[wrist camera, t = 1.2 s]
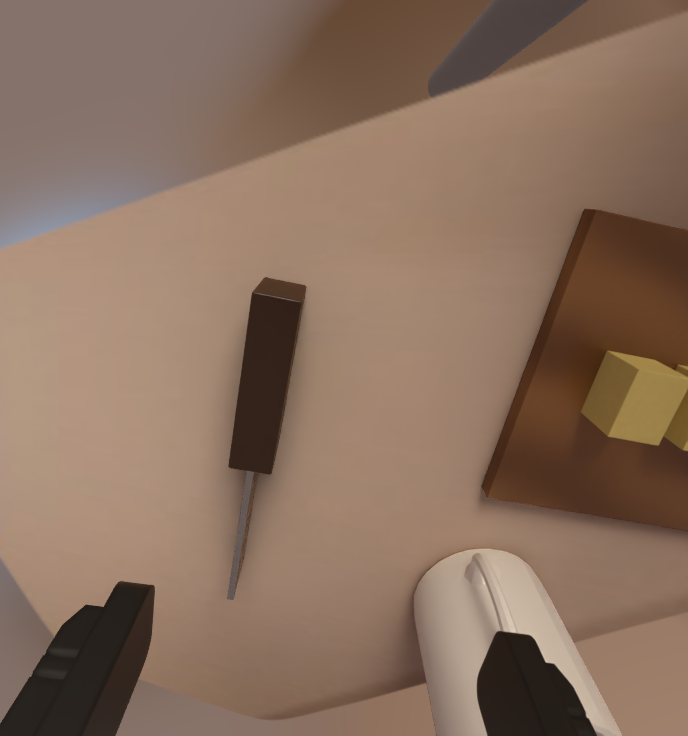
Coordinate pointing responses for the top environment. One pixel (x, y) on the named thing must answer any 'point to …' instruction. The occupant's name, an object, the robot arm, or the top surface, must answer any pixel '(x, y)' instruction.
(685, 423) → the butter block
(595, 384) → the butter slice
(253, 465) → the knife
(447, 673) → the mug
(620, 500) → the board
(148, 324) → the top surface
